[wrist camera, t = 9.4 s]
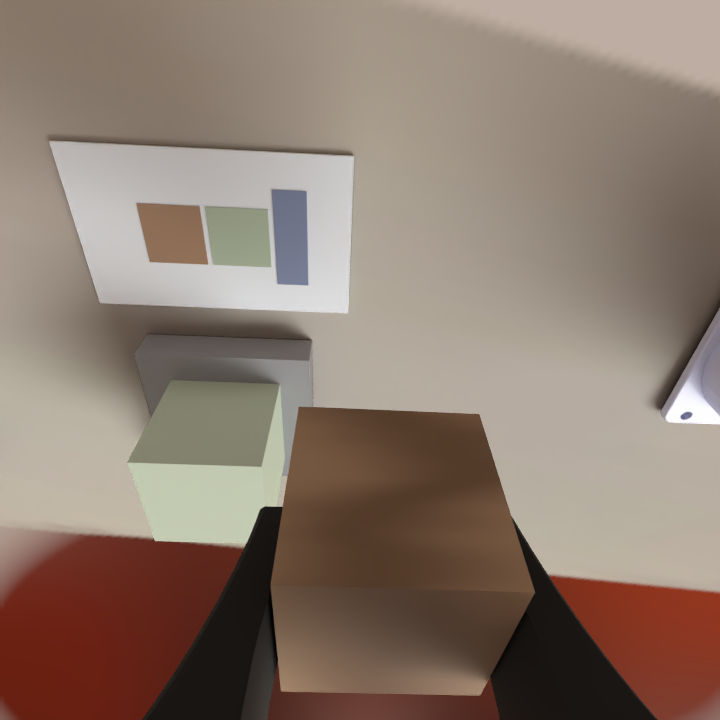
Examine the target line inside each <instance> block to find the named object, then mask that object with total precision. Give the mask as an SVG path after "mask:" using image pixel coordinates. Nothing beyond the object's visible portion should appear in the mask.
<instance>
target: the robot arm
mask: <svg viewBox="0 0 720 720" xmlns="http://www.w3.org/2000/svg"><path fill="white" fill-rule="evenodd" d="M661 416H662V417H663V418H664V420H665V421H667V422H671V423H699V424H720V308H719V310H718V312H717V314H716V315H715V317H714V319H713V321H712V322H711V324H710V326H709V328H708V329H707V331H706V333H705V335H704V336H703V338H702V340H701V342H700V343H699V345H698V347H697V349H696V350H695V352H694V354H693V356H692V357H691V359H690V361H689V363H688V365H687V366H686V368H685V370H684V372H683V373H682V375H681V377H680V379H679V380H678V382H677V384H676V386H675V387H674V389H673V391H672V393H671V394H670V396H669V398H668V400H667V401H666V403H665V405H664V407H663V408H662V410H661ZM282 509H283V507H269V506H264V507H263V508H261V509H260V511H259V513H258V516H257V519H256V522H255V524H254V527H253V529H252V532H251V534H250V537H249V539H248V541H247V543H246V546H245V548H244V550H243V552H242V554H241V556H240V558H239V560H238V562H237V565H236V567H235V569H234V571H233V572H232V574H231V576H230V578H229V580H228V582H227V584H226V586H225V588H224V590H223V592H222V593H221V595H220V597H219V599H218V601H217V603H216V605H215V606H214V608H213V610H212V611H211V613H210V615H209V617H208V619H207V620H206V622H205V624H204V625H203V627H202V629H201V630H200V632H199V634H198V635H197V637H196V639H195V641H194V642H193V644H192V645H191V647H190V649H189V650H188V652H187V654H186V655H185V657H184V658H183V660H182V661H181V663H180V665H179V666H178V668H177V669H176V671H175V672H174V674H173V675H172V677H171V678H170V680H169V681H168V683H167V684H166V686H165V688H164V689H163V690H162V692H161V693H160V695H159V696H158V698H157V699H156V701H155V702H154V704H153V705H152V707H151V708H150V709H149V711H148V712H147V714H146V715H145V716H144V718H143V719H142V720H267V717H268V710H269V704H270V699H271V694H272V689H273V683H274V678H275V673H276V667H277V662H278V655H277V645H276V635H275V625H274V615H273V605H272V595H271V579H272V572H273V566H274V560H275V553H276V547H277V541H278V534H279V528H280V522H281V515H282ZM511 517H512V516H511ZM512 520H513V524H514V527H515V530H516V533H517V536H518V540H519V543H520V546H521V549H522V552H523V556H524V559H525V562H526V565H527V568H528V571H529V575H530V578H531V581H532V584H533V587H534V591H535V594H534V595H533V597H532V599H531V601H530V603H529V605H528V607H527V608H526V610H525V612H524V614H523V616H522V618H521V620H520V622H519V623H518V625H517V627H516V629H515V631H514V633H513V635H512V636H511V638H510V640H509V642H508V644H507V646H506V648H505V650H504V651H503V653H502V655H501V657H500V659H499V661H498V663H497V664H496V666H495V668H494V670H493V672H492V674H491V676H490V679H491V683H492V687H493V691H494V695H495V699H496V703H497V707H498V712H499V716H500V720H657V718H655V716H654V715H653V714H652V713H651V712H650V711H649V709H648V708H647V707H646V706H645V705H644V703H643V702H642V701H641V700H640V699H639V697H638V696H637V695H636V694H635V693H634V691H633V690H632V689H631V688H630V687H629V685H628V684H627V683H626V682H625V680H624V679H623V678H622V677H621V675H620V674H619V673H618V672H617V670H616V669H615V668H614V666H613V665H612V664H611V663H610V662H609V660H608V659H607V657H606V656H605V655H604V654H603V652H602V651H601V650H600V648H599V647H598V645H597V644H596V643H595V642H594V640H593V639H592V638H591V636H590V635H589V634H588V632H587V631H586V629H585V628H584V627H583V625H582V624H581V623H580V621H579V620H578V618H577V617H576V616H575V614H574V613H573V611H572V610H571V608H570V607H569V605H568V604H567V602H566V601H565V600H564V598H563V597H562V595H561V594H560V592H559V591H558V589H557V588H556V586H555V585H554V583H553V582H552V580H551V579H550V577H549V576H548V574H547V573H546V571H545V570H544V568H543V567H542V565H541V563H540V562H539V560H538V559H537V557H536V556H535V554H534V552H533V551H532V549H531V548H530V546H529V544H528V543H527V541H526V539H525V538H524V536H523V535H522V533H521V531H520V530H519V528H518V526H517V525H516V523H515V521H514V519H513V518H512Z"/></svg>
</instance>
